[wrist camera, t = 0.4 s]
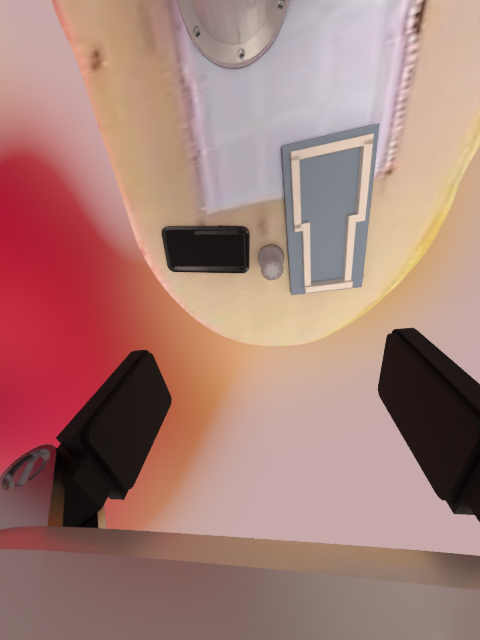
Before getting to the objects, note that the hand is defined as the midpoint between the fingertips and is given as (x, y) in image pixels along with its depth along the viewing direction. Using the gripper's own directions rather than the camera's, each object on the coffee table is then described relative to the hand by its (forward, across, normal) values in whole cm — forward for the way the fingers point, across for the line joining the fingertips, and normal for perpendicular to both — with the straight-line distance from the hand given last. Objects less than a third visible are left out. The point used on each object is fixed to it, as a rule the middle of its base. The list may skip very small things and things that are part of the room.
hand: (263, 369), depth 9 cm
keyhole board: (+32, -10, -1) cm, 34 cm away
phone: (+33, +10, 0) cm, 34 cm away
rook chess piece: (+33, -1, +3) cm, 33 cm away
